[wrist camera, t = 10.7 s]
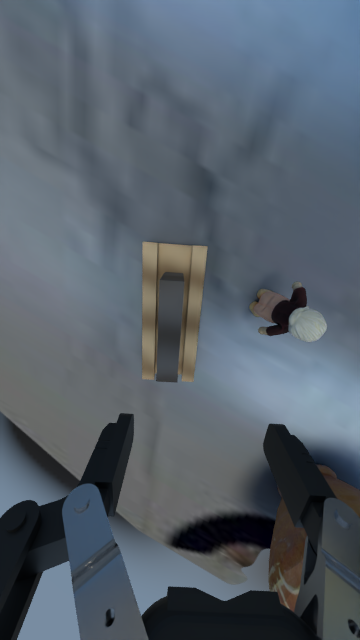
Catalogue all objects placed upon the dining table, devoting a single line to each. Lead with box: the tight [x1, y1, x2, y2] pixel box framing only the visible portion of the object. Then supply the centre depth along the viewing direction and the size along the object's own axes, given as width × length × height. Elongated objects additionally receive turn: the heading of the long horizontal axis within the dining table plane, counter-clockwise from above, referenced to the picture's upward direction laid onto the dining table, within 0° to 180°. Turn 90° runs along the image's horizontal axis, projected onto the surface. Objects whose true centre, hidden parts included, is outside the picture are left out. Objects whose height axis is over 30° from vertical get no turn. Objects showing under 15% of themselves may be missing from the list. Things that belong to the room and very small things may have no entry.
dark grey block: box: [156, 272, 184, 382], centre depth 25 cm, size 12×3×8 cm, turn 176°
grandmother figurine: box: [249, 282, 327, 342], centre depth 25 cm, size 8×4×13 cm, turn 163°
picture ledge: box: [142, 242, 207, 382], centre depth 29 cm, size 20×8×4 cm, turn 176°
